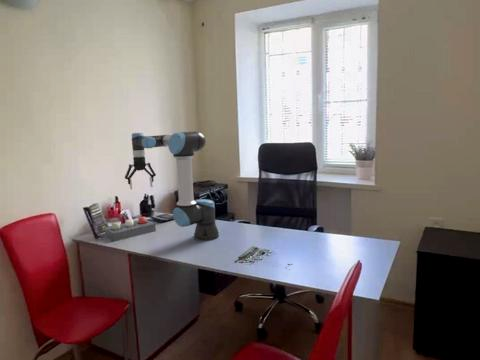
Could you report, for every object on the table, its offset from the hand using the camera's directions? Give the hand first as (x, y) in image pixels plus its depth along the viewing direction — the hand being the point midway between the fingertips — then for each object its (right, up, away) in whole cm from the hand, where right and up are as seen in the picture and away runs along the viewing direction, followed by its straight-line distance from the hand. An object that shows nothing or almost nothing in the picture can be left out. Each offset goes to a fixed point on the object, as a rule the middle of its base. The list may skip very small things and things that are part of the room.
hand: (141, 187), depth 252 cm
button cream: (-5, -25, -9) cm, 27 cm away
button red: (+2, -24, -4) cm, 24 cm away
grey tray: (-5, -29, -9) cm, 31 cm away
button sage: (-12, -26, -15) cm, 33 cm away
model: (+82, -36, -58) cm, 107 cm away
